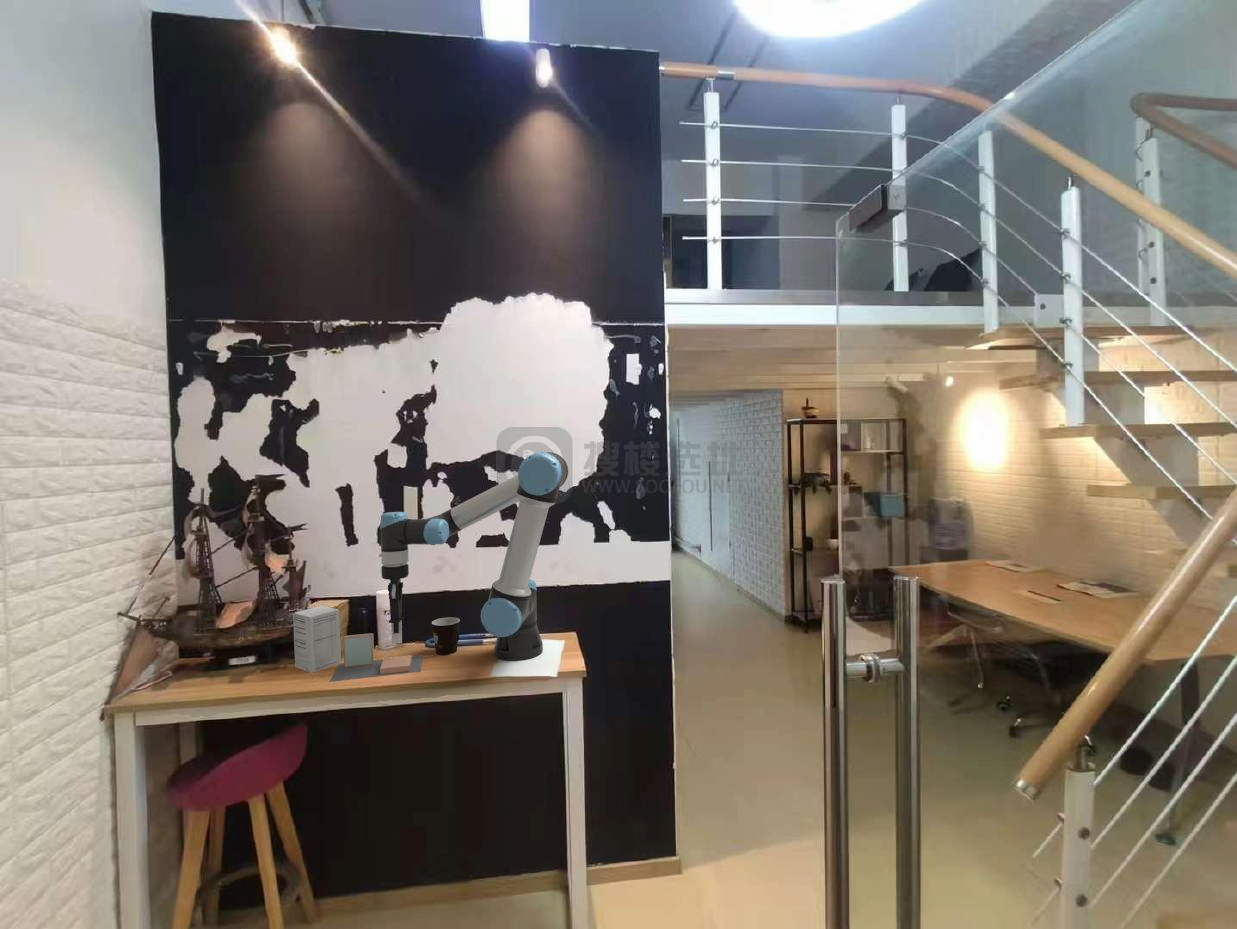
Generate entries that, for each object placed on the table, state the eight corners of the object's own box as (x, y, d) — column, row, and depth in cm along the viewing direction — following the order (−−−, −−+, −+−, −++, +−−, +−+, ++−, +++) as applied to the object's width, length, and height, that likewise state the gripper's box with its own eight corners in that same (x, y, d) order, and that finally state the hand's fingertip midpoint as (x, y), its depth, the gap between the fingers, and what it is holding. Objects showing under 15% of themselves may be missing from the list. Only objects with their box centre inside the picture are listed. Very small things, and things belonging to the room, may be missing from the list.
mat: (423, 656, 183) (423, 655, 183) (420, 673, 169) (420, 671, 169) (339, 665, 176) (339, 663, 176) (329, 683, 163) (329, 681, 163)
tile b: (374, 662, 177) (373, 633, 177) (373, 664, 175) (372, 634, 175) (345, 665, 175) (344, 635, 174) (344, 667, 173) (343, 637, 173)
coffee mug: (432, 649, 189) (431, 619, 188) (459, 646, 191) (459, 616, 191) (432, 662, 178) (431, 629, 177) (461, 658, 180) (461, 626, 180)
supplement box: (324, 658, 182) (323, 604, 182) (342, 664, 177) (340, 608, 177) (293, 668, 174) (292, 612, 174) (311, 674, 169) (309, 616, 169)
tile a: (412, 655, 178) (409, 665, 169) (412, 660, 178) (409, 671, 169) (383, 657, 176) (379, 668, 167) (383, 663, 176) (380, 674, 167)
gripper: (384, 561, 180) (386, 637, 180) (378, 569, 167) (380, 651, 168) (410, 559, 182) (411, 635, 182) (406, 567, 169) (408, 648, 170)
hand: (396, 642), depth 175 cm, fingers closed
